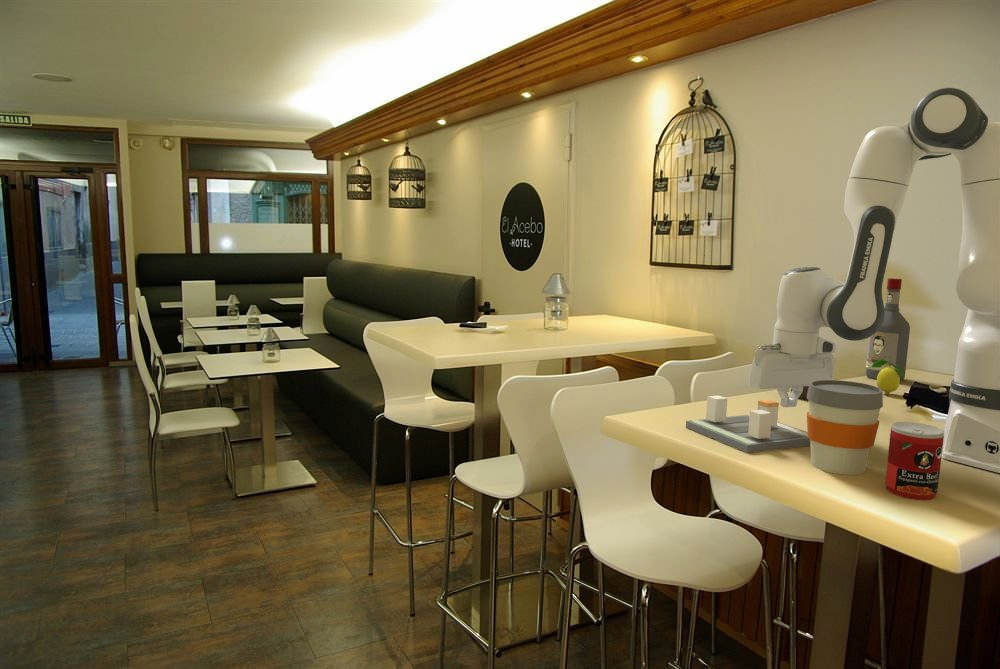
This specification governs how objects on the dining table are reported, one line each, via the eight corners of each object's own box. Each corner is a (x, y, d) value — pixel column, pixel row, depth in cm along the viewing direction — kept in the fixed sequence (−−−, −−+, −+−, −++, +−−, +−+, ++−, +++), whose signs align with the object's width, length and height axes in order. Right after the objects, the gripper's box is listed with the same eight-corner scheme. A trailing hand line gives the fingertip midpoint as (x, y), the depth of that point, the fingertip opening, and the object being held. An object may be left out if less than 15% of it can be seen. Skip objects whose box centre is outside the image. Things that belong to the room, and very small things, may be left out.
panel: (820, 443, 148) (821, 436, 148) (747, 453, 140) (747, 445, 140) (754, 420, 165) (754, 413, 165) (685, 427, 158) (686, 420, 158)
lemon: (868, 391, 200) (872, 355, 199) (889, 391, 200) (892, 355, 199) (882, 396, 193) (886, 359, 192) (903, 397, 194) (907, 360, 192)
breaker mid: (776, 425, 153) (778, 402, 153) (765, 426, 152) (767, 403, 152) (767, 422, 156) (769, 399, 155) (756, 423, 155) (758, 400, 154)
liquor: (879, 374, 225) (889, 277, 221) (908, 380, 217) (919, 279, 213) (861, 376, 221) (870, 277, 216) (889, 382, 213) (900, 280, 208)
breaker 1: (725, 421, 156) (727, 398, 155) (714, 422, 155) (716, 399, 154) (717, 417, 159) (718, 395, 158) (706, 418, 158) (707, 396, 157)
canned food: (894, 498, 118) (901, 432, 116) (877, 482, 126) (883, 420, 124) (945, 502, 117) (953, 436, 115) (925, 485, 125) (932, 423, 123)
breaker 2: (769, 437, 144) (771, 412, 144) (758, 438, 143) (760, 414, 142) (759, 433, 147) (761, 409, 146) (748, 435, 146) (749, 410, 145)
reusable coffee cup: (856, 457, 140) (864, 380, 138) (889, 479, 127) (898, 395, 125) (790, 455, 140) (797, 378, 138) (817, 476, 128) (824, 393, 125)
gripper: (767, 347, 148) (760, 413, 150) (842, 344, 156) (835, 407, 158) (745, 342, 154) (739, 405, 156) (819, 339, 161) (812, 400, 163)
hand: (788, 406), depth 157 cm, fingers closed
